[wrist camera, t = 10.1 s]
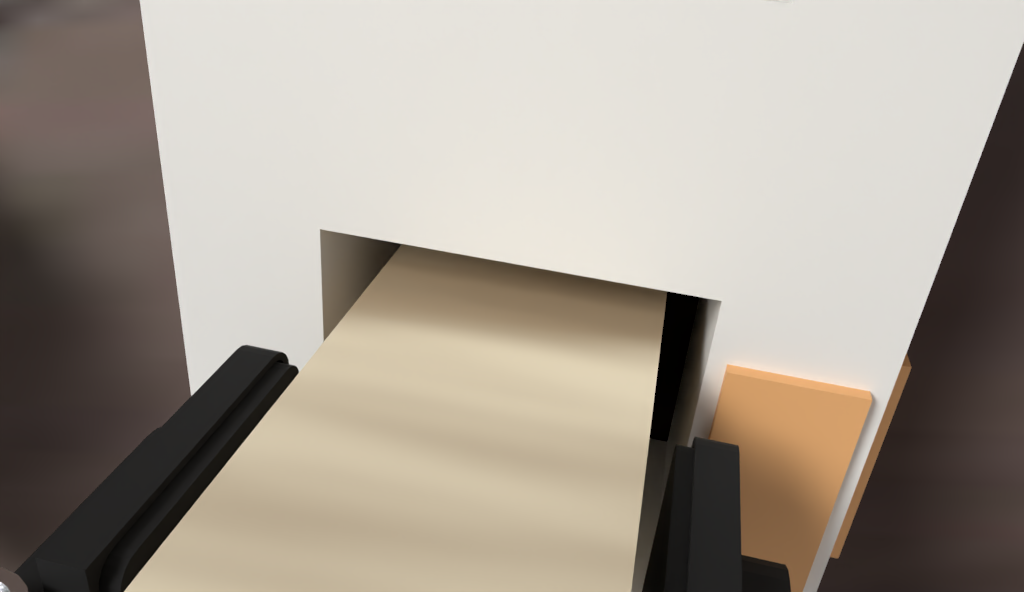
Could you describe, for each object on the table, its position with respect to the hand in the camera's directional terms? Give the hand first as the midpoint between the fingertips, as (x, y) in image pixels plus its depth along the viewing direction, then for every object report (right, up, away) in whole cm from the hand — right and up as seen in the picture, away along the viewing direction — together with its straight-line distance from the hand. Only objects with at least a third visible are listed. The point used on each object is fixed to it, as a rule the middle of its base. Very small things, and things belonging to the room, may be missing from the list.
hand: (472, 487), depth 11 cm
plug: (+1, +3, +5) cm, 6 cm away
